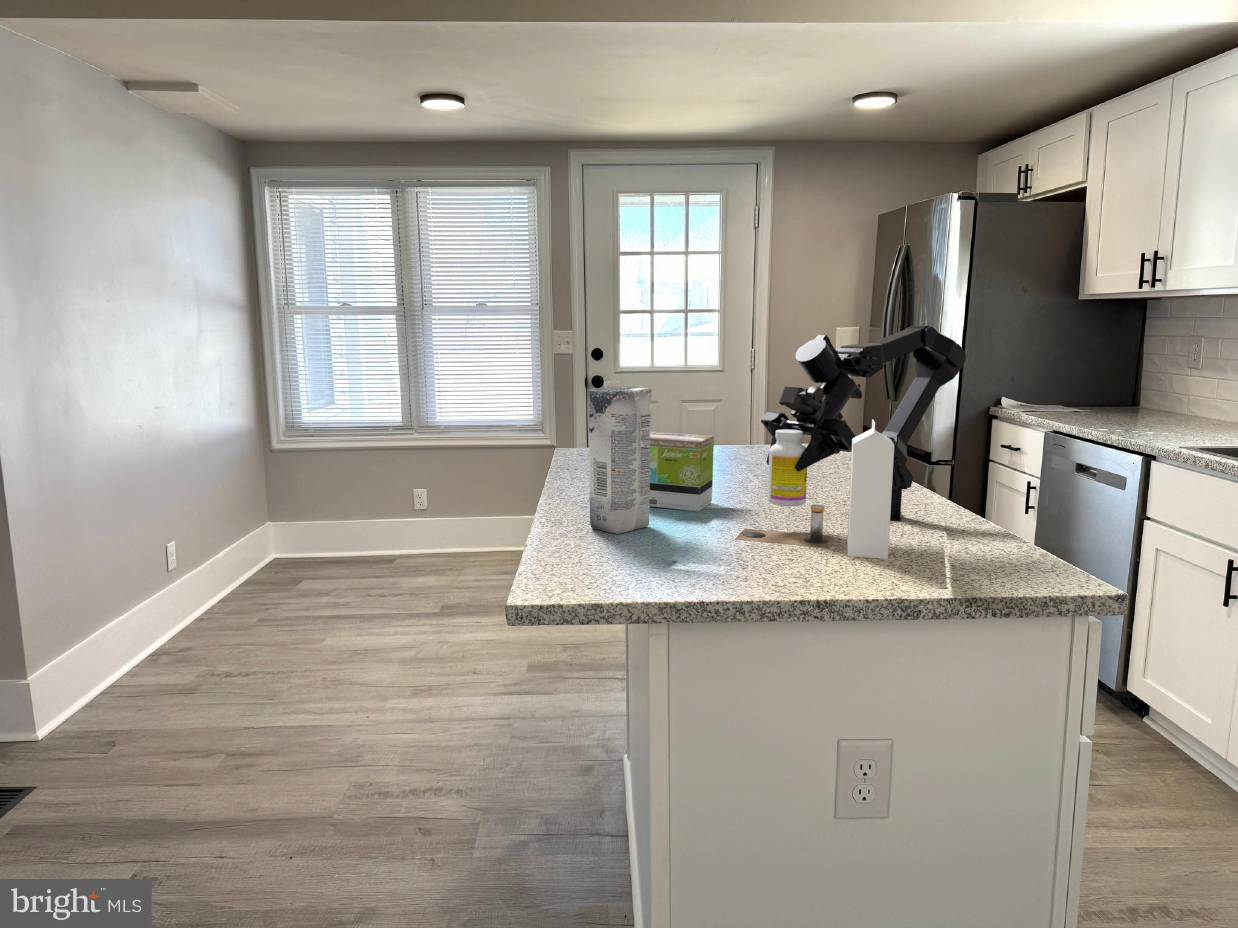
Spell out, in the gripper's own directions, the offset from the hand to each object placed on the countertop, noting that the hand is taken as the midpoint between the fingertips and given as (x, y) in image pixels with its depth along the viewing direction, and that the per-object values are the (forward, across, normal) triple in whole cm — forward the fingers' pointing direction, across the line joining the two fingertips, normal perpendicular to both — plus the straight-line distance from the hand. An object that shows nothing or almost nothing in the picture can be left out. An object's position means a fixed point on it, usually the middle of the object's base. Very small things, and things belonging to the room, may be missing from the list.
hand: (782, 467), depth 140 cm
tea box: (+9, -32, +9) cm, 34 cm away
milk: (+8, +18, +10) cm, 22 cm away
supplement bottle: (+4, 0, +6) cm, 7 cm away
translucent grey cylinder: (+8, +8, +8) cm, 14 cm away
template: (+11, +4, +6) cm, 13 cm away
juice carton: (+23, -20, -6) cm, 32 cm away
